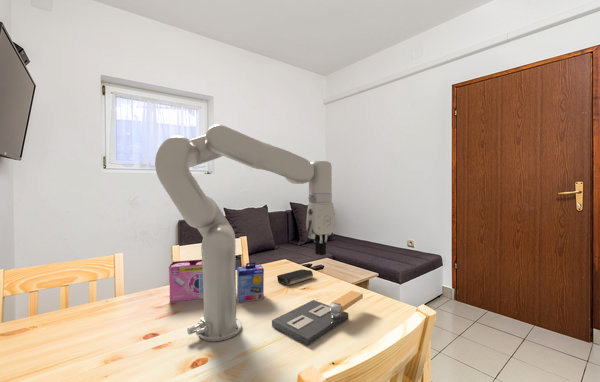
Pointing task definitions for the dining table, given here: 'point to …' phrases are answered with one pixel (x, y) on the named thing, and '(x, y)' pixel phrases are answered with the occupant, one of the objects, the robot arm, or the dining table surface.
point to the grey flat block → (309, 322)
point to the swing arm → (345, 301)
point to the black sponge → (295, 276)
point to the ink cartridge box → (250, 282)
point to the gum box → (186, 280)
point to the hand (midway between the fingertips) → (320, 254)
